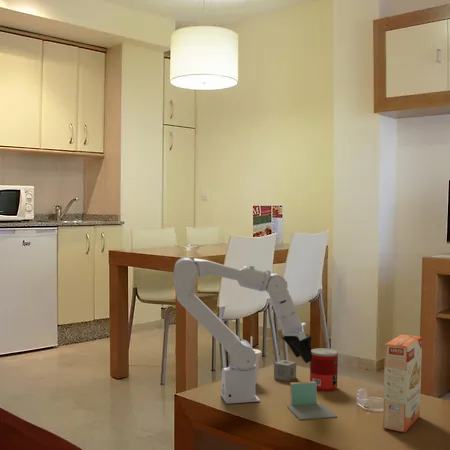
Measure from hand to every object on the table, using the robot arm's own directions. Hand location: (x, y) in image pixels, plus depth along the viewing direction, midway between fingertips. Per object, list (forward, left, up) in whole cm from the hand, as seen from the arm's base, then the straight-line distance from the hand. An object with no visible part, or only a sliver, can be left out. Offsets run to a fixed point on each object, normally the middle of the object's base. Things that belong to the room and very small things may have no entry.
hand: (304, 358), depth 169 cm
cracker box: (+17, -24, -11) cm, 31 cm away
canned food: (+9, +7, -11) cm, 16 cm away
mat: (-2, -12, -11) cm, 16 cm away
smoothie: (-11, +16, -11) cm, 23 cm away
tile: (-2, -6, -8) cm, 10 cm away
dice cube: (+1, +19, -11) cm, 22 cm away
